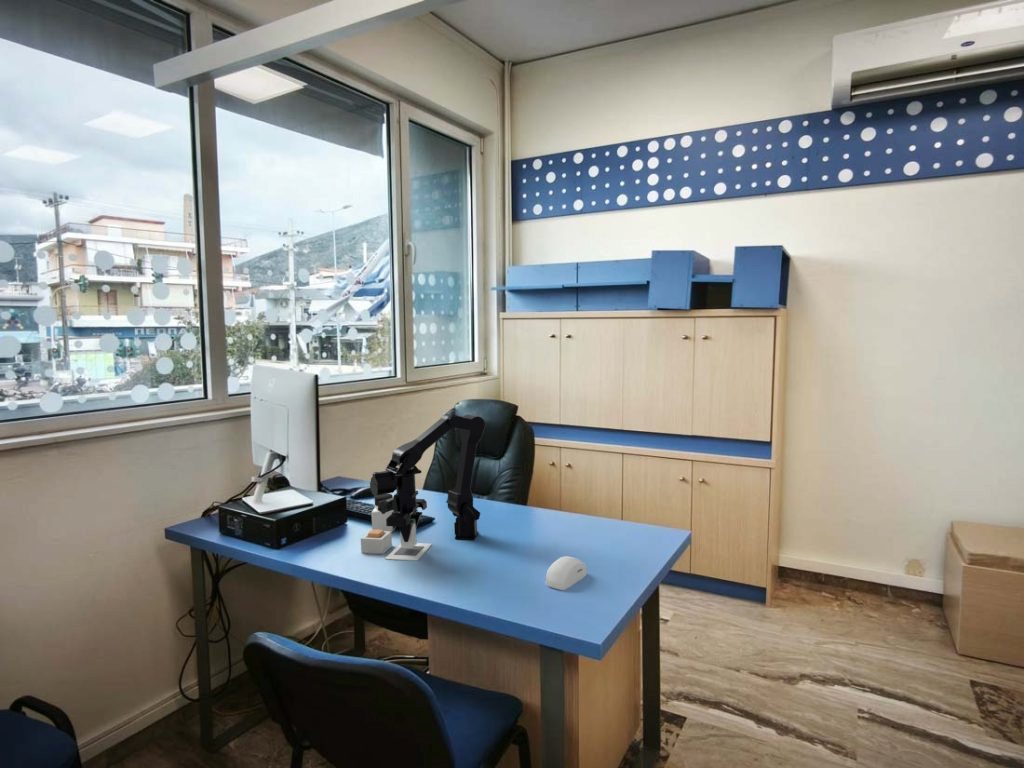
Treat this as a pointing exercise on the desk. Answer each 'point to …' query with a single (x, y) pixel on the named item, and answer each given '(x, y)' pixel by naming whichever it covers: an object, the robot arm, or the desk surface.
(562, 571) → the computer mouse
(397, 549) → the white grey rectangular pad
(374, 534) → the button
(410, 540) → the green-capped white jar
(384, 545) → the button housing
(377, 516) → the medicine bottle
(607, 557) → the desk surface
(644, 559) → the desk surface
